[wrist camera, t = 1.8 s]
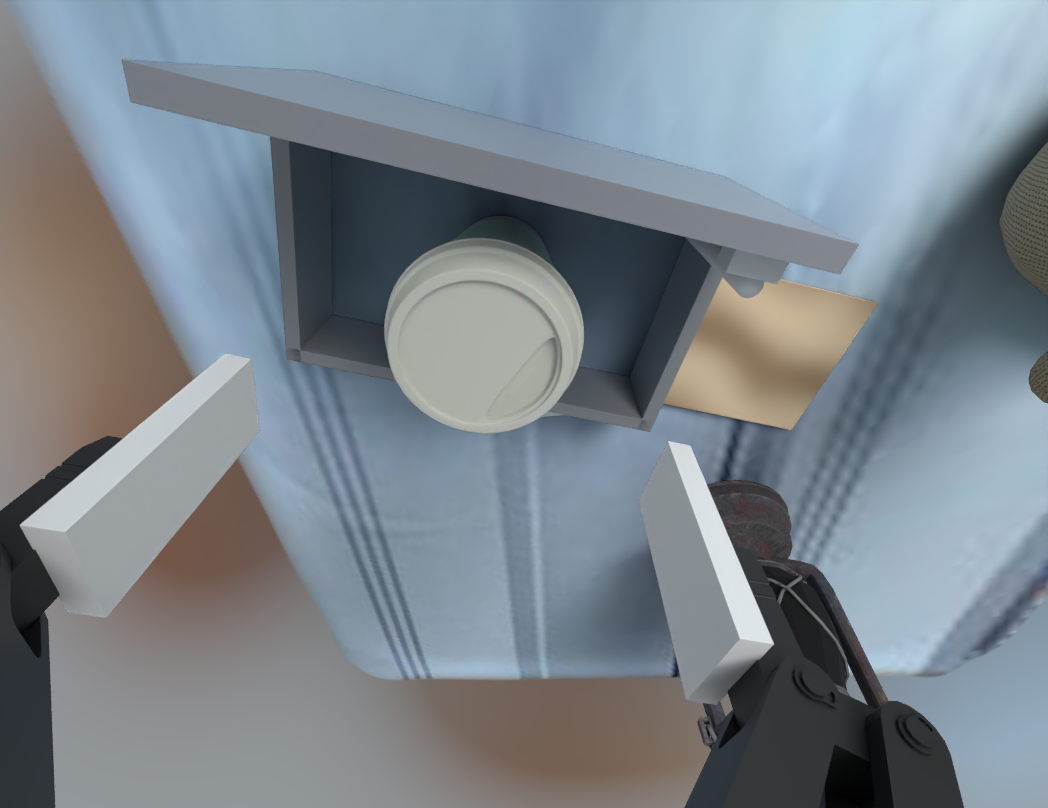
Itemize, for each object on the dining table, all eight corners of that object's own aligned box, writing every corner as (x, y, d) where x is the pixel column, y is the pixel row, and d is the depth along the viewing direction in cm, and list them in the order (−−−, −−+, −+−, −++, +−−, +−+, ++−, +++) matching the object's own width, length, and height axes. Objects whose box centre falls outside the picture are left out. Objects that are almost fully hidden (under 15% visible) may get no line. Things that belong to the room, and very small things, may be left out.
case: (313, 70, 24) (121, 59, 13) (725, 177, 26) (858, 244, 15) (320, 330, 32) (206, 458, 21) (633, 395, 34) (676, 541, 23)
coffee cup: (468, 346, 32) (435, 464, 22) (405, 224, 28) (328, 302, 18) (589, 303, 30) (613, 411, 20) (542, 163, 26) (542, 214, 16)
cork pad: (723, 265, 28) (725, 267, 28) (874, 301, 29) (877, 303, 29) (660, 400, 34) (661, 403, 34) (789, 426, 35) (791, 429, 34)
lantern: (642, 563, 44) (772, 1178, 19) (658, 479, 38) (873, 1213, 13) (778, 564, 44) (1089, 1198, 19) (815, 480, 38) (1340, 1243, 13)
